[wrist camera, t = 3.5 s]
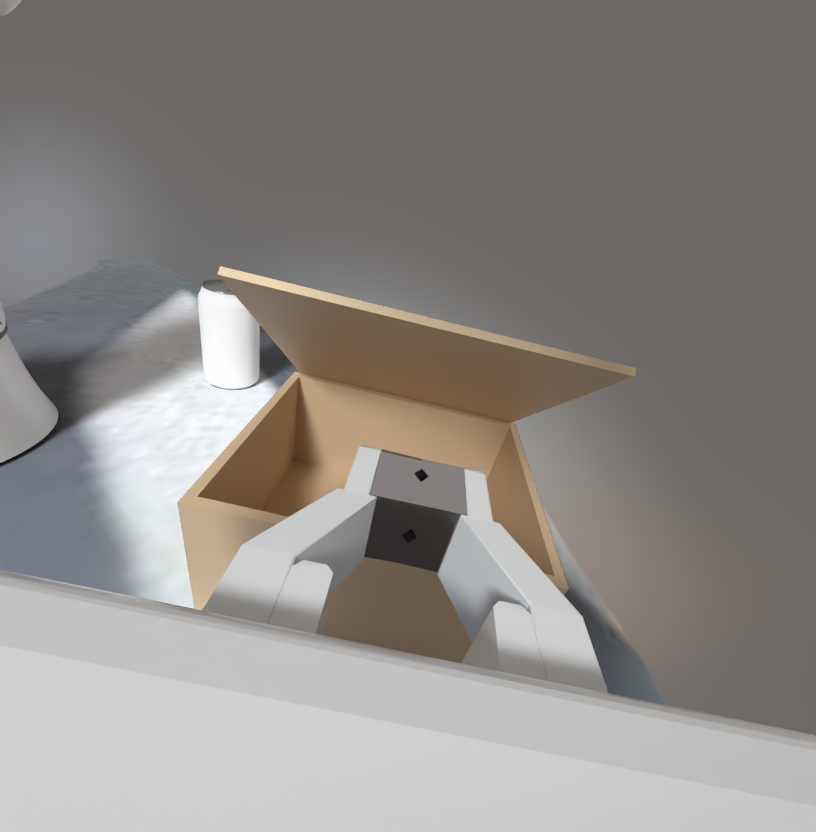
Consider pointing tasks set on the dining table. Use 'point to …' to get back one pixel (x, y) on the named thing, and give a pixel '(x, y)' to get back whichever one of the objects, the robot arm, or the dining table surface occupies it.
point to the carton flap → (417, 352)
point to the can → (227, 338)
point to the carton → (328, 470)
